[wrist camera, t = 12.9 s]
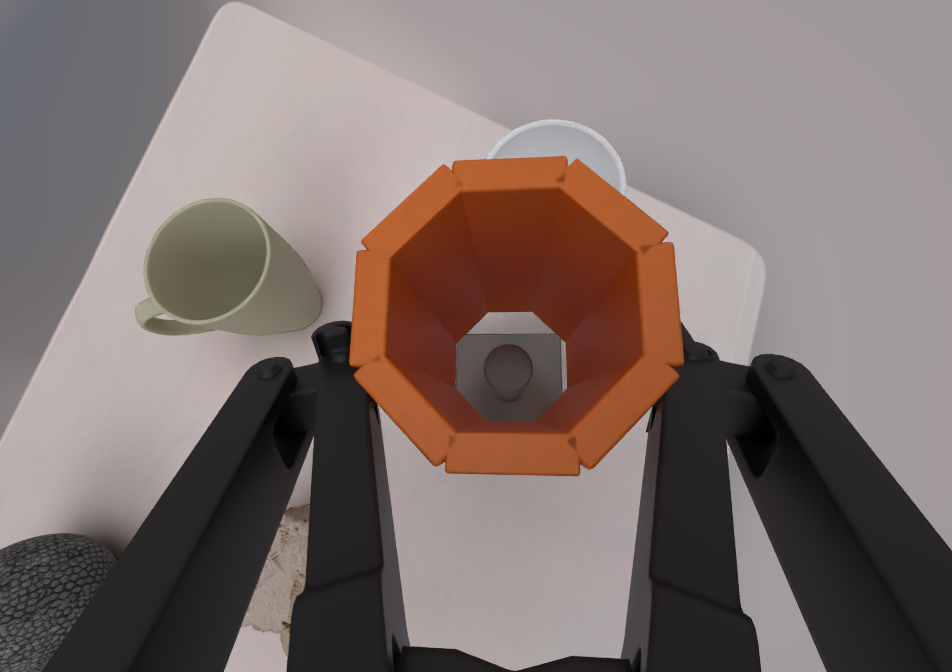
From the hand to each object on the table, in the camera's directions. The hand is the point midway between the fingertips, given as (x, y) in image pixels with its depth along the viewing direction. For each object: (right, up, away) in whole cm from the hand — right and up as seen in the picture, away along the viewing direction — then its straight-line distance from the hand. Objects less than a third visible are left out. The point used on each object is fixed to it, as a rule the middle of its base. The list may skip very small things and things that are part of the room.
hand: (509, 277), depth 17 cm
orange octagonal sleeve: (0, -4, +2) cm, 4 cm away
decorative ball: (-35, -24, +18) cm, 46 cm away
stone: (-16, -22, +17) cm, 32 cm away
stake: (+1, -7, +18) cm, 20 cm away
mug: (-19, 0, +22) cm, 29 cm away
